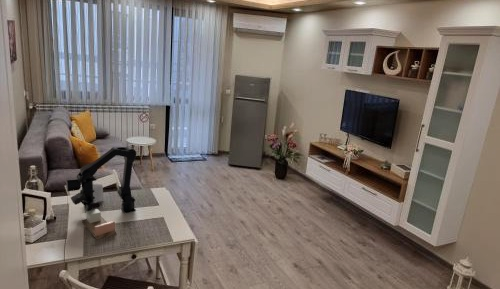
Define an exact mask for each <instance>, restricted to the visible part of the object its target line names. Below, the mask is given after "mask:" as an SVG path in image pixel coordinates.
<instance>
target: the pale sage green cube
mask: <svg viewBox="0 0 500 289" xmlns="http://www.w3.org/2000/svg"><path fill="white" fill-rule="evenodd" d="M85 216H86V218H85V219H86V220H87V221H88V222H89V223H93V222H97V221H100V220H101V217H102V212H101V211H100V210H99V209H98V208H93V209H92V210H90V211H86V212H85Z"/></svg>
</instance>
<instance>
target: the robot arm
mask: <svg viewBox="0 0 500 289" xmlns="http://www.w3.org/2000/svg"><path fill="white" fill-rule="evenodd" d="M116 156H117V157H119V156H120V157H123V160H124V166H123V174H122V180H121V181H122V183H121V185H120V186H118V187H117V189H118V190H117V195H118V196H119V197H120V199H121V200H122V201H121V210H122V212H124V213H126V214H127V213H131V212H134V211H136V210H137V209H136V208H135V202H136V198H135V197H134V196H133V194H132V189H131V180H132V171H133V164H134V162H135V161H136V158H137V151H136V150H135V148H133V147H132V146H129V145H127V146H113V147H111V148H110V149H109V150H107V151H106V152H105V153H104V154H102V155H101V156H100V157H99V158H97V159H95V160H94V161H92V162H89V163H87V164H84V165H83V166H82V167H80V171H79V173H78V174H77V175H76V177H75V178H67V179H66V183H65V187H66V192H73V191H74V192H76V191H79V192H78V193H76V194H75V195H72V196H71V197H70V200H71V202H72V203H73V205H77V206H78V205H79V204H82V205H83V206H84V207H85V210H86V211H90V210H94V209H98V208H99V207H100V206H101V204H100V202H98V201H96V200H94V199H95V197H94V196H93V192H94V189H93V183H94V182H96V181H98V180H97V178H96V177H95V176H94V175H95V174H96V173H97V171H98V170H99V169H100V168H101V167H103V166H104V165H105V164H106V163H108V162H110V160H112V159H113V158H115V157H116Z"/></svg>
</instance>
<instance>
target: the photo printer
mask: <svg viewBox="0 0 500 289" xmlns="http://www.w3.org/2000/svg"><path fill="white" fill-rule="evenodd" d="M93 189H94V192H93V196H94V197H95V199H94V200H96V201H98V202H99V203H100V202H101V203H102V202H103V201H104V187H103V184H102V183H100V182H93Z"/></svg>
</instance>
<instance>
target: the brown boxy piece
mask: <svg viewBox="0 0 500 289" xmlns="http://www.w3.org/2000/svg"><path fill="white" fill-rule="evenodd" d="M81 223H82V224H83V226H84V227H85V226H86V227H87V228H86V227H85V228H86V229H87V230H88V231H89V233H91V235H93V237H94V238H95V239H96V240H102V239H106V238H107V237H111V236H114V235H117V230H116V222H115V220H111V221H107V220H105V218H103V217H102V216H101V220H100V221H97V222H93V223H89V222H88V221H87V220H86V218H84V219H82V220H81Z"/></svg>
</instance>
